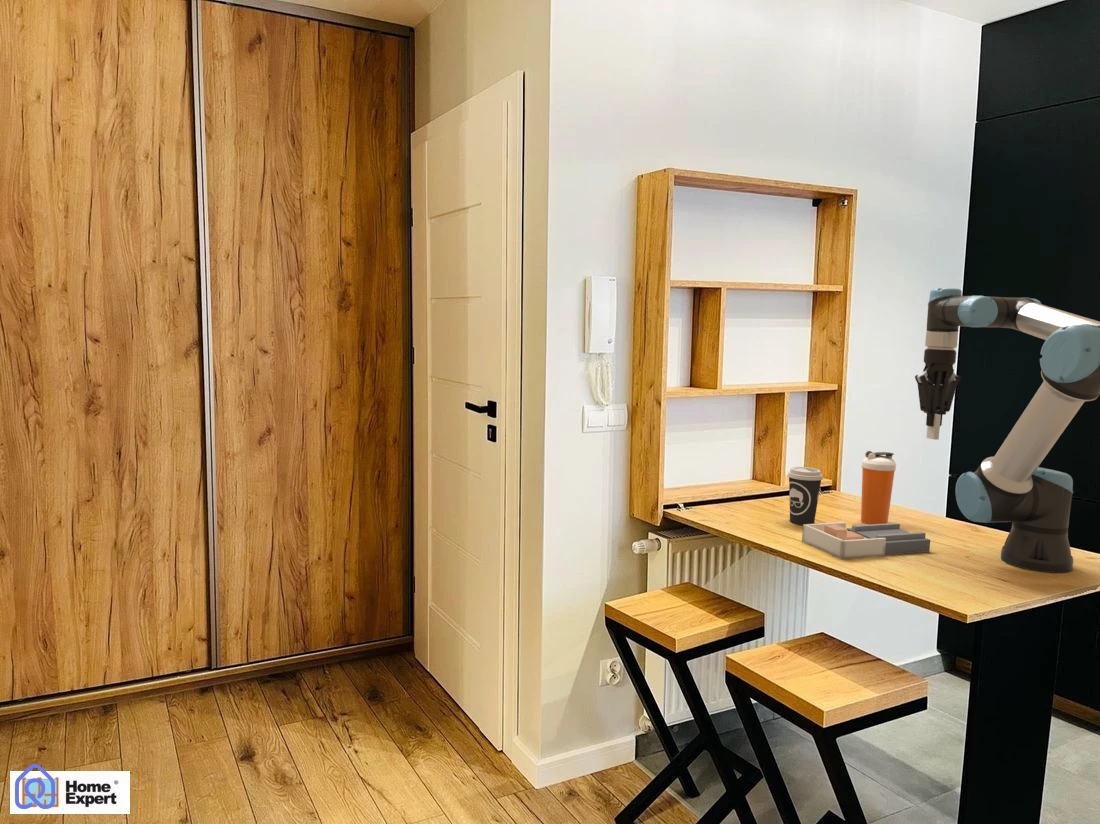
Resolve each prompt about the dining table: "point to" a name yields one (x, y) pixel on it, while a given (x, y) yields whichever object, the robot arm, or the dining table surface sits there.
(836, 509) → the dining table surface
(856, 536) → the tile
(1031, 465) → the robot arm
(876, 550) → the tray
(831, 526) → the tile
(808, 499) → the coffee cup
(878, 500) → the shaker bottle
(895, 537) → the grey railed fixture
